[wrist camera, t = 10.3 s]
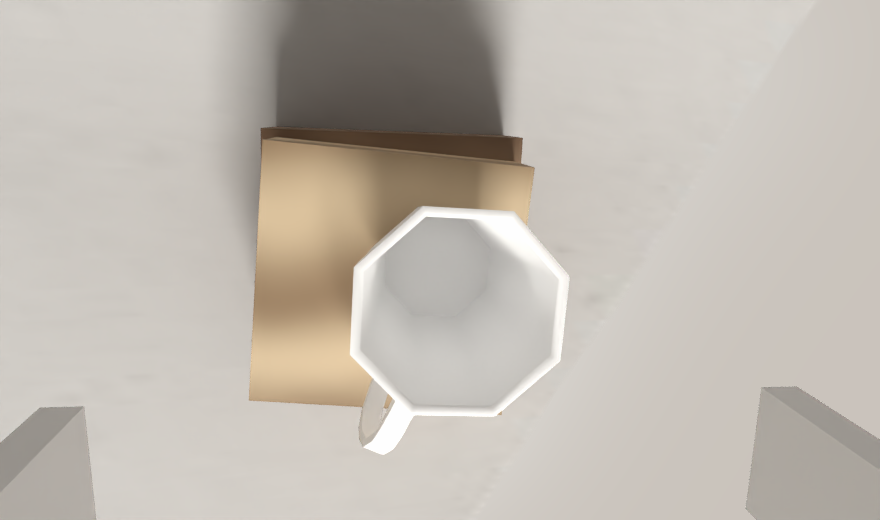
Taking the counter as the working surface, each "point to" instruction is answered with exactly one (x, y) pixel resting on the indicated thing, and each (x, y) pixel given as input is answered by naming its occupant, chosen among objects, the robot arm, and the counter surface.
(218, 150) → the counter surface
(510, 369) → the cup
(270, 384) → the oak block
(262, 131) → the walnut block
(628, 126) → the counter surface
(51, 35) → the counter surface
